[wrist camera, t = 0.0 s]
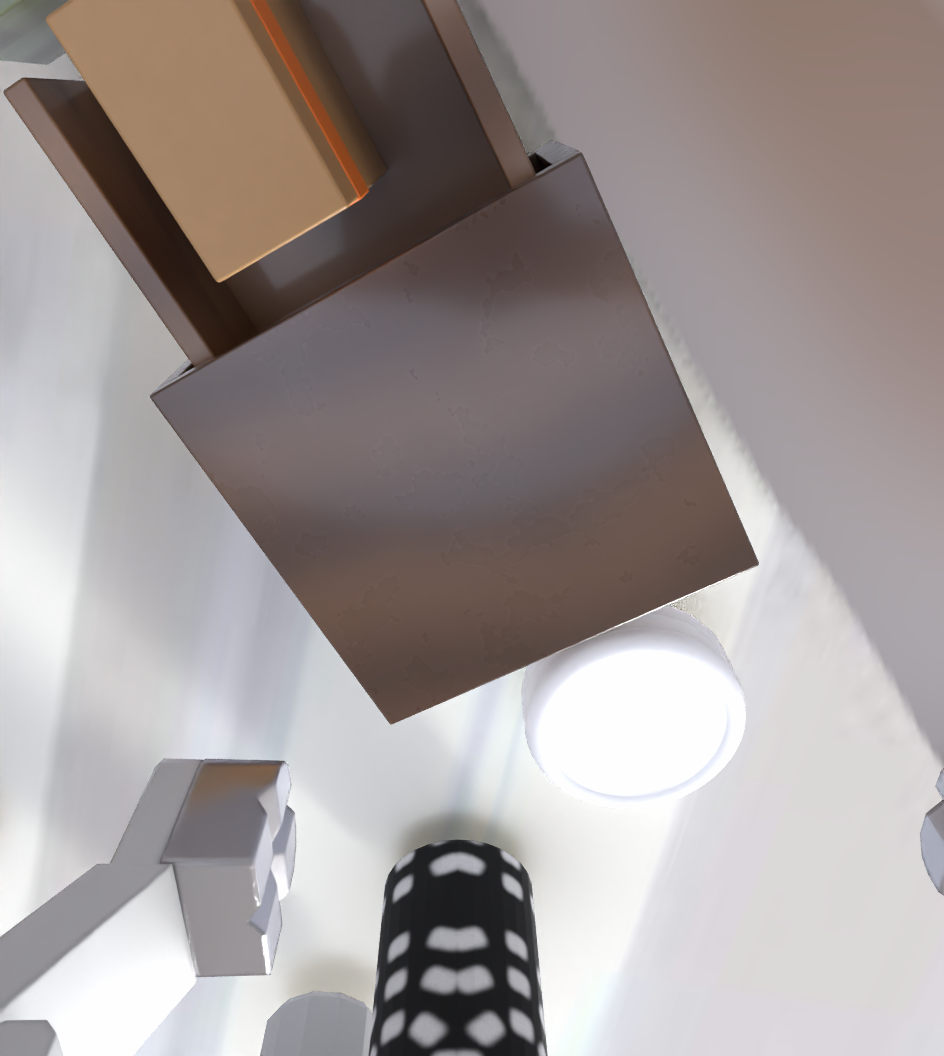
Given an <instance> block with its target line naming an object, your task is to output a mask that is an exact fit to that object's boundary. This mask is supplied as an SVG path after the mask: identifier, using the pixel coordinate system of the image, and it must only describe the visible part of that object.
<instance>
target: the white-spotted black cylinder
mask: <svg viewBox="0 0 944 1056" xmlns="http://www.w3.org/2000/svg"><path fill="white" fill-rule="evenodd" d="M369 1056H547V1046H546V1035H545V1024H544V1013H543V1002H542V991H541V980H540V970H539V959H538V948H537V937H536V926H535V915H534V904H533V894H532V884H531V880H530V878H529V875H528V873H527V871H526V870H525V869H524V867H523V866H522V864H521V863H520V862H519V861H518V860H516V859H515V858H514V857H513V856H512V855H510V854H509V853H507V852H505V851H503V850H502V849H500V848H497V847H495V846H492V845H489V844H486V843H481V842H477V841H470V840H449V841H441V842H436V843H432V844H428V845H426V846H423V847H421V848H418V849H416V850H414V851H412V852H411V853H409V854H408V855H406V856H404V857H403V858H402V859H401V860H400V861H399V862H398V863H397V864H396V865H395V866H394V868H393V869H392V870H391V872H390V873H389V875H388V878H387V881H386V884H385V892H384V902H383V912H382V923H381V933H380V943H379V954H378V964H377V974H376V985H375V995H374V1005H373V1016H372V1026H371V1036H370V1046H369Z"/></svg>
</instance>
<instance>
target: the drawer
mask: <svg viewBox="0 0 944 1056" xmlns="http://www.w3.org/2000/svg"><path fill="white" fill-rule="evenodd" d="M67 1H69V0H0V60H2V61H13V62H23V63H34V64H45V65H47V64H50V63H51V62H52V61H54V60H55V59H57V58H58V57H60V56H61V55H63V54H64V53H66V51H65V50H64V48H63V47H62V45H61V44H60V42H59V41H58V39H57V38H56V36H55V35H54V33H53V32H52V30H51V29H50V27H49V25H48V24H47V22H46V17H47V16H48V15H49V14H50V13H52V12H53V11H55V10H56V9H58V8H59V7H60V6H62V5H63V4H65V3H66V2H67ZM297 1H298V3H299V4H300V6H301V8H302V10H303V12H304V14H305V16H306V18H307V19H308V21H309V23H310V25H311V27H312V29H313V31H314V33H315V34H316V36H317V38H318V40H319V42H320V44H321V46H322V48H323V50H324V51H325V53H326V55H327V57H328V59H329V61H330V63H331V65H332V66H333V68H334V70H335V72H336V74H337V76H338V78H339V80H340V81H341V83H342V85H343V87H344V89H345V91H346V93H347V95H348V96H349V98H350V100H351V102H352V104H353V106H354V108H355V110H356V112H357V113H358V115H359V117H360V119H361V121H362V123H363V125H364V127H365V128H366V130H367V132H368V134H369V136H370V138H371V140H372V142H373V143H374V145H375V147H376V149H377V151H378V153H379V155H380V157H381V159H382V160H383V162H384V164H385V166H386V168H387V172H386V173H385V174H384V175H383V176H382V177H381V178H380V179H379V180H377V181H376V182H375V183H374V184H373V185H372V186H371V187H370V188H369V192H368V193H367V194H366V195H365V196H364V197H363V198H362V199H361V200H359V201H357V202H356V203H354V204H352V205H351V206H349V207H348V208H346V209H345V210H343V211H341V212H340V213H338V214H336V215H335V216H333V217H331V218H329V219H328V220H326V221H324V222H323V223H321V224H319V225H318V226H316V227H314V228H312V229H311V230H309V231H307V232H306V233H304V234H302V235H301V236H299V237H297V238H295V239H294V240H292V241H290V242H289V243H287V244H285V245H283V246H282V247H280V248H278V249H277V250H275V251H273V252H272V253H270V254H268V255H266V256H265V257H263V258H261V259H260V260H258V261H256V262H254V263H253V264H251V265H249V266H248V267H246V268H244V269H243V270H241V271H239V272H237V273H236V274H234V275H232V276H231V277H229V278H227V279H225V280H224V281H222V282H217V281H216V280H215V279H214V278H213V276H212V275H211V273H210V271H209V270H208V268H207V267H206V265H205V264H204V262H203V261H202V259H201V258H200V256H199V255H198V253H197V252H196V250H195V249H194V247H193V245H192V244H191V242H190V241H189V239H188V238H187V236H186V235H185V233H184V232H183V230H182V229H181V227H180V226H179V224H178V223H177V221H176V220H175V218H174V216H173V215H172V213H171V212H170V210H169V209H168V207H167V206H166V204H165V203H164V201H163V200H162V198H161V197H160V195H159V194H158V192H157V190H156V189H155V187H154V186H153V184H152V183H151V181H150V180H149V178H148V177H147V175H146V174H145V172H144V171H143V169H142V168H141V166H140V164H139V163H138V161H137V160H136V158H135V157H134V155H133V154H132V152H131V151H130V149H129V148H128V146H127V145H126V143H125V142H124V140H123V139H122V137H121V135H120V134H119V132H118V131H117V129H116V128H115V126H114V125H113V123H112V122H111V120H110V119H109V117H108V116H107V114H106V113H105V111H104V109H103V108H102V106H101V105H100V103H99V102H98V100H97V99H96V97H95V96H94V94H93V93H92V91H91V90H90V88H89V87H88V85H87V84H86V82H85V81H75V80H57V79H40V78H21V79H20V80H18V81H17V82H15V83H14V84H13V85H11V86H10V87H8V88H7V89H5V91H4V95H5V96H6V98H7V99H8V101H9V102H10V103H11V105H12V106H13V108H14V109H15V111H16V112H17V113H18V115H19V116H20V118H21V119H22V121H23V122H24V123H25V125H26V126H27V128H28V129H29V131H30V132H31V134H32V135H33V136H34V138H35V139H36V141H37V142H38V144H39V145H40V146H41V148H42V149H43V151H44V152H45V154H46V155H47V156H48V158H49V159H50V161H51V162H52V164H53V165H54V166H55V168H56V169H57V171H58V172H59V174H60V175H61V177H62V178H63V179H64V181H65V182H66V184H67V185H68V187H69V188H70V189H71V191H72V192H73V194H74V195H75V197H76V198H77V199H78V201H79V202H80V204H81V205H82V207H83V208H84V209H85V211H86V212H87V214H88V215H89V217H90V218H91V220H92V221H93V222H94V224H95V225H96V227H97V228H98V230H99V231H100V232H101V234H102V235H103V237H104V238H105V240H106V241H107V242H108V244H109V245H110V247H111V248H112V250H113V251H114V252H115V254H116V255H117V257H118V258H119V260H120V261H121V263H122V264H123V265H124V267H125V268H126V270H127V271H128V273H129V274H130V275H131V277H132V278H133V280H134V281H135V283H136V284H137V285H138V287H139V288H140V290H141V291H142V293H143V294H144V295H145V297H146V298H147V300H148V301H149V303H150V304H151V306H152V307H153V308H154V310H155V311H156V313H157V314H158V316H159V317H160V318H161V320H162V321H163V323H164V324H165V326H166V327H167V328H168V330H169V331H170V333H171V334H172V336H173V337H174V339H175V340H176V341H177V343H178V344H179V346H180V347H181V349H182V350H183V351H184V353H185V354H186V356H187V357H188V359H189V360H190V361H191V363H192V364H193V366H194V367H196V366H198V365H199V364H201V363H203V362H205V361H206V360H208V359H210V358H212V357H214V356H215V355H217V354H219V353H221V352H222V351H224V350H226V349H228V348H229V347H231V346H233V345H235V344H237V343H238V342H240V341H242V340H244V339H245V338H247V337H249V336H251V335H252V334H254V333H256V332H258V331H260V330H261V329H263V328H265V327H267V326H268V325H270V324H272V323H274V322H275V321H277V320H279V319H281V318H282V317H284V316H286V315H288V314H290V313H291V312H293V311H295V310H297V309H298V308H300V307H302V306H304V305H305V304H307V303H309V302H311V301H313V300H314V299H316V298H318V297H320V296H321V295H323V294H325V293H327V292H328V291H330V290H332V289H334V288H336V287H337V286H339V285H341V284H343V283H344V282H346V281H348V280H350V279H351V278H353V277H355V276H357V275H358V274H360V273H362V272H364V271H366V270H367V269H369V268H371V267H373V266H374V265H376V264H378V263H380V262H381V261H383V260H385V259H387V258H389V257H390V256H392V255H394V254H396V253H397V252H399V251H401V250H403V249H404V248H406V247H408V246H410V245H412V244H413V243H415V242H417V241H419V240H420V239H422V238H424V237H426V236H427V235H429V234H431V233H433V232H434V231H436V230H438V229H440V228H442V227H443V226H445V225H447V224H449V223H450V222H452V221H454V220H456V219H457V218H459V217H461V216H463V215H465V214H466V213H468V212H470V211H472V210H473V209H475V208H477V207H479V206H480V205H482V204H484V203H486V202H488V201H489V200H491V199H493V198H495V197H496V196H498V195H500V194H502V193H503V192H505V191H507V190H509V189H510V188H512V187H514V186H516V185H518V184H519V183H521V182H523V181H525V180H526V179H528V178H530V177H532V176H533V175H535V174H536V173H535V171H534V169H533V166H532V164H531V162H530V160H529V158H528V155H527V153H526V151H525V149H524V147H523V145H522V142H521V140H520V138H519V136H518V134H517V131H516V129H515V127H514V125H513V123H512V121H511V118H510V116H509V114H508V112H507V110H506V107H505V105H504V103H503V101H502V99H501V97H500V94H499V92H498V90H497V88H496V86H495V84H494V81H493V79H492V77H491V75H490V73H489V70H488V68H487V66H486V64H485V62H484V60H483V57H482V55H481V53H480V51H479V49H478V46H477V44H476V42H475V40H474V38H473V36H472V33H471V31H470V29H469V27H468V25H467V22H466V20H465V18H464V16H463V14H462V12H461V9H460V7H459V5H458V3H457V1H456V0H297Z"/></svg>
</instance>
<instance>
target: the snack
mask: <svg viewBox="0 0 944 1056" xmlns="http://www.w3.org/2000/svg"><path fill="white" fill-rule="evenodd" d="M46 22H47V24H48V25H49V27H50V29H51V30H52V32H53V33H54V35H55V36H56V38H57V39H58V41H59V42H60V44H61V45H62V47H63V48H64V50H65V51H66V53H67V54H68V56H69V58H70V59H71V61H72V62H73V64H74V65H75V67H76V68H77V70H78V71H79V73H80V74H81V76H82V77H83V79H84V80H85V82H86V84H87V85H88V87H89V88H90V90H91V91H92V93H93V94H94V96H95V97H96V99H97V100H98V102H99V103H100V105H101V106H102V108H103V109H104V111H105V113H106V114H107V116H108V117H109V119H110V120H111V122H112V123H113V125H114V126H115V128H116V129H117V131H118V132H119V134H120V135H121V137H122V139H123V140H124V142H125V143H126V145H127V146H128V148H129V149H130V151H131V152H132V154H133V155H134V157H135V158H136V160H137V161H138V163H139V164H140V166H141V168H142V169H143V171H144V172H145V174H146V175H147V177H148V178H149V180H150V181H151V183H152V184H153V186H154V187H155V189H156V190H157V192H158V194H159V195H160V197H161V198H162V200H163V201H164V203H165V204H166V206H167V207H168V209H169V210H170V212H171V213H172V215H173V216H174V218H175V220H176V221H177V223H178V224H179V226H180V227H181V229H182V230H183V232H184V233H185V235H186V236H187V238H188V239H189V241H190V242H191V244H192V245H193V247H194V249H195V250H196V252H197V253H198V255H199V256H200V258H201V259H202V261H203V262H204V264H205V265H206V267H207V268H208V270H209V271H210V273H211V275H212V276H213V278H214V279H215V280H216V281H217V282H222V281H224V280H225V279H227V278H229V277H231V276H232V275H234V274H236V273H237V272H239V271H241V270H243V269H244V268H246V267H248V266H249V265H251V264H253V263H254V262H256V261H258V260H260V259H261V258H263V257H265V256H266V255H268V254H270V253H272V252H273V251H275V250H277V249H278V248H280V247H282V246H283V245H285V244H287V243H289V242H290V241H292V240H294V239H295V238H297V237H299V236H301V235H302V234H304V233H306V232H307V231H309V230H311V229H312V228H314V227H316V226H318V225H319V224H321V223H323V222H324V221H326V220H328V219H329V218H331V217H333V216H335V215H336V214H338V213H340V212H341V211H343V210H345V209H346V208H348V207H349V206H351V205H352V204H354V203H356V202H357V201H359V200H361V199H362V198H363V197H364V196H365V195H366V194H367V193H368V192H369V188H370V187H371V186H372V185H373V184H374V183H375V182H376V181H377V180H379V179H380V178H381V177H382V176H383V175H384V174H385V173H386V172H387V168H386V166H385V164H384V162H383V160H382V159H381V157H380V155H379V153H378V151H377V149H376V147H375V145H374V143H373V142H372V140H371V138H370V136H369V134H368V132H367V130H366V128H365V127H364V125H363V123H362V121H361V119H360V117H359V115H358V113H357V112H356V110H355V108H354V106H353V104H352V102H351V100H350V98H349V96H348V95H347V93H346V91H345V89H344V87H343V85H342V83H341V81H340V80H339V78H338V76H337V74H336V72H335V70H334V68H333V66H332V65H331V63H330V61H329V59H328V57H327V55H326V53H325V51H324V50H323V48H322V46H321V44H320V42H319V40H318V38H317V36H316V34H315V33H314V31H313V29H312V27H311V25H310V23H309V21H308V19H307V18H306V16H305V14H304V12H303V10H302V8H301V6H300V4H299V3H298V1H297V0H69V1H67V2H66V3H65V4H63V5H62V6H60V7H59V8H58V9H56V10H55V11H53V12H52V13H50V14H49V15H48V16H47V17H46Z"/></svg>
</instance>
